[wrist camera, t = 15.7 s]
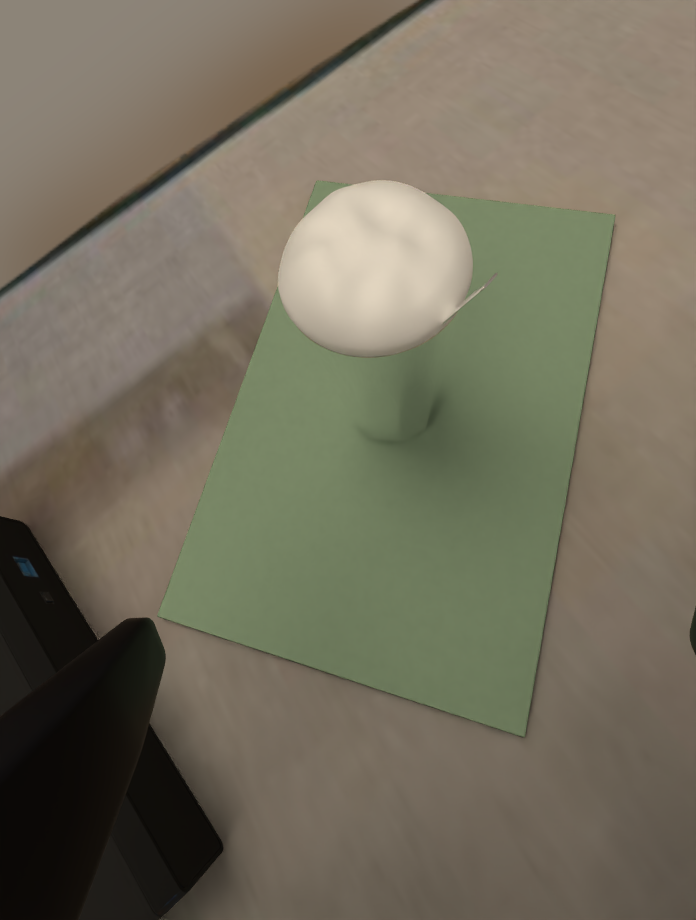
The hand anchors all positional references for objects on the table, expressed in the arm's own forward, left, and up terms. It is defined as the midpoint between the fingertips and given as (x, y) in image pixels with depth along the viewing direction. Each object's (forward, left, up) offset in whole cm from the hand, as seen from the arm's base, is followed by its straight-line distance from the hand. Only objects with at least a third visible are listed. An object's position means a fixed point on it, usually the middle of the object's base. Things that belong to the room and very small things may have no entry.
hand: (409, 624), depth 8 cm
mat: (+4, +7, -9) cm, 12 cm away
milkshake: (+4, +7, -9) cm, 12 cm away
